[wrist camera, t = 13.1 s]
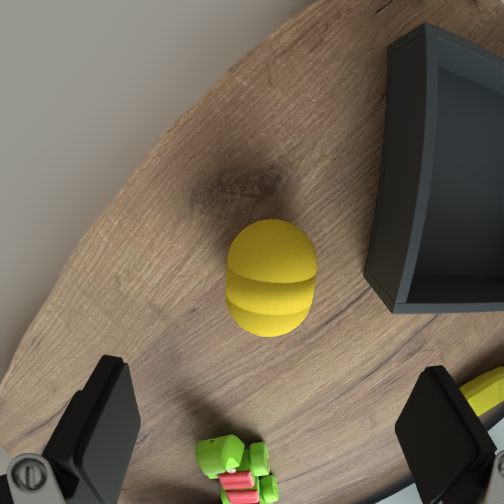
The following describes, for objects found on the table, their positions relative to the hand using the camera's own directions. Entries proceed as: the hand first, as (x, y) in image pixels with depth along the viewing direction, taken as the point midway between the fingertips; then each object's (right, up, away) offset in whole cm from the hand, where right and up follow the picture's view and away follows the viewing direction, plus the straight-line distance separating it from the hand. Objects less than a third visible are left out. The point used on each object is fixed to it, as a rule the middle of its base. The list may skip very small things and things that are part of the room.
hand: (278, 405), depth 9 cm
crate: (+17, +11, +12) cm, 23 cm away
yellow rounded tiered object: (0, +4, +14) cm, 14 cm away
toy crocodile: (-2, -20, +22) cm, 30 cm away
